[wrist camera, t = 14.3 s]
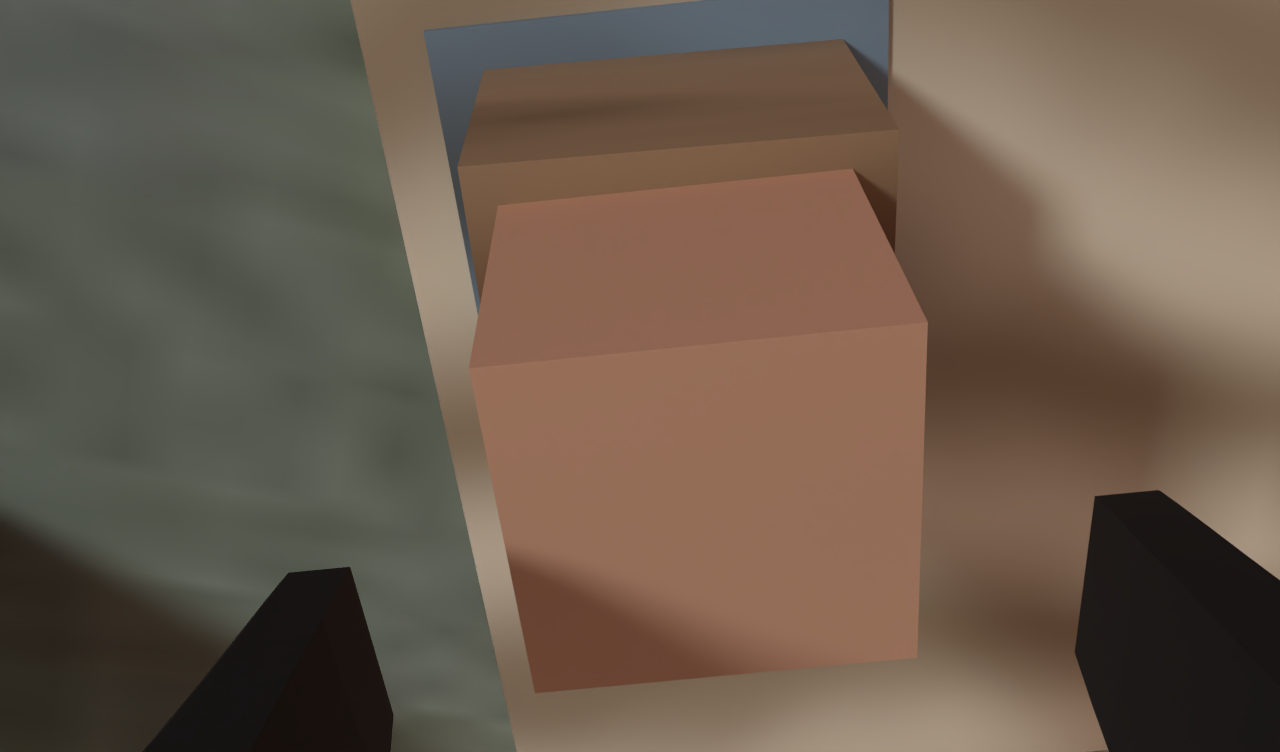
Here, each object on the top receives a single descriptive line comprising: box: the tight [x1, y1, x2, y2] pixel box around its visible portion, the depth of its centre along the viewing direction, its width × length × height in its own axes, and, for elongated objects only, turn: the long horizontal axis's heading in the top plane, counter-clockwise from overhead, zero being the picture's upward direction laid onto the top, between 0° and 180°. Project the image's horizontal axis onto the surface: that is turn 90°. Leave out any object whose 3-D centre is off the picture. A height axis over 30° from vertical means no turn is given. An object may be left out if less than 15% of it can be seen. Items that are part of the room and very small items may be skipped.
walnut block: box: [457, 39, 899, 303], centre depth 18 cm, size 6×6×4 cm
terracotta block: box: [469, 169, 928, 693], centre depth 14 cm, size 4×4×4 cm
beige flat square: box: [351, 0, 1280, 752], centre depth 22 cm, size 20×18×1 cm
